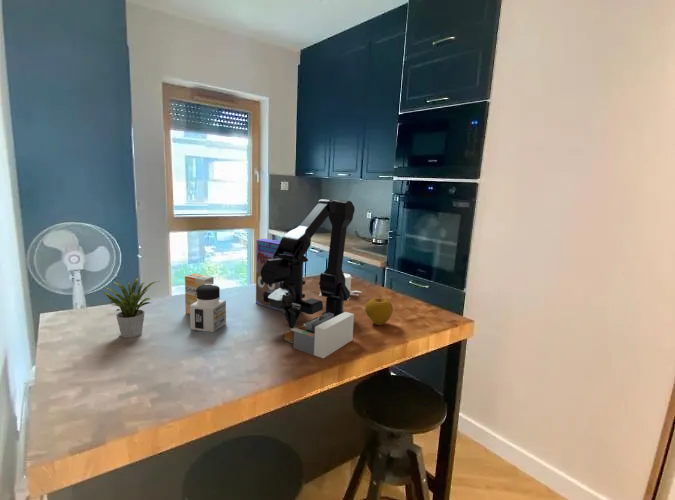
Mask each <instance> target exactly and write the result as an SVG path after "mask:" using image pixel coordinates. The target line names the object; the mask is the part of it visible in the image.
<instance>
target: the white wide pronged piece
mask: <svg viewBox="0 0 675 500" xmlns="http://www.w3.org/2000/svg"><path fill="white" fill-rule="evenodd" d="M343 274H344V276H345V286H346V287H347V289H348V290H349V291H350V296H358V294H356V293H361V291H360V290H351V286H352V285H351V284H352V283H351V282H352V279H355V277H352V274H349V273H345V272H343ZM319 293H320V294H319V295H318V296H322V294H321V291H319ZM350 296H349V298H348V299H347V300H346V301H349V299H351V297H350Z"/></svg>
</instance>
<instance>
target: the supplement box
mask: <svg viewBox="0 0 675 500" xmlns="http://www.w3.org/2000/svg"><path fill="white" fill-rule="evenodd" d="M214 279H215V277H214V276H210V275H205V274H200V273H199V274H198V273H191V274H187V275H185V276H184V292H185V295H184V296H185V297H184V298H185V299H184V300H185V301H184V303H185V304H184V306H185V314H187V315H190V305H191V304H193V303H195V302H197V288H198V287H199V286H201V285H204V284H214V281H215V280H214Z"/></svg>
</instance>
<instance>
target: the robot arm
mask: <svg viewBox="0 0 675 500" xmlns="http://www.w3.org/2000/svg"><path fill="white" fill-rule="evenodd" d="M354 213H355V205H354V204H353V202H352V201H351V200H342V199H328V198H327V199H325V198H322V199H319V200H318V201H317V203H316V206H315V207H313V209H312V210H311V212H310V213H309V214H308V215H307V216H306V217H305V219H304V220H303V221H302V222H301V223H300V225H298V226H297V227H296V228H294V229H291V230H289V231H288V232H287V233H286V234H284V235H283V236H282V237H281V239H280V240H279V241H280V244H279V246H278V248H277V250H276V252H275V253H274V255H273V258H274V259H267V260H266V264H265V265H264V266H263V267H262V269H261V278H262V280H263V281H264V283H266V284H268V285H271V284H274V283H278V282H280V286H279V289H273V290H270V291H267V292H265V294H264V295H263V301H265V302H268V303H270V306H271V307H275V308H277V309H281V310H283V311H284V312H283V314H284V316H285V318H286V321H287V324H288V327H289V328H288V329H290V330H291V329H293V328H295V327H296V324H297V322H298V321H299V318H300V316H301V314H302V313H303V314H307V315H314V314H316V313H318V312H320V311H322V310H324V303H323V302H322V300H321V299H316V298H313V297H311V298H308V299H306V300H305V299H304V298H306V294H305V293H303V286H305V285H306V280H304V278H303V277H304V263H307V262H308V261H309V259H308V257H306V256H305V255H306V253H307V252H308V250H309V248H310V247H311V245H312V238H313V236H314V235H315V234H316V232H317V231H318V229H320V227H321V226H322V225H323V223H324V222H325V221H326V220H327V218H328V221H329V222H330V224H331V232H330V241H329V249H328V258H327V259H328V260H327V267H326V269H325V271H324V272H321V273H320V275H319V282H318V285H319V290H320V292H321V293H320V294H322V295H321V296H322V297H325V298H326V303H325V310H324V311H323V312H322V313H321V315H324V314H326V313H328V312H329V313H332V314H334V317H336V316H338V315H340V314H342V313H344V312H345V311H344V302H346V301H348V300H349V299H350V298H349V297H350V296H351V295H350V291H351V290H350V291H349V290H348V289H347V287H346V286H345V276H344V274H343V273H344V272H343V261H344V255H345V254H344V252H345V247H346V246H345V245H346V244H345V243H346V237H347V229H348V227H349V225H350V224H351V222H352V221H353V219H354ZM283 253H284V254H283ZM285 254H288V255H285ZM290 255H293V256H290ZM347 299H348V300H347Z"/></svg>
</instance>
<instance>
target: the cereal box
mask: <svg viewBox="0 0 675 500" xmlns="http://www.w3.org/2000/svg"><path fill="white" fill-rule="evenodd" d="M255 241H256V242H255V243H256V246H255V247H256V248H255V250H256V253H255V257H256V259H255V261H256V263H255V271H256V272H255V304H256V305H259V306H263V307H265V308H270V309H273V310H276V311H280V312H283V313H284V311H283V310H281V309H277V308H275V307H271V306H270V303H268V302H265V301H263V295H264V294H265V292H267V291H270V290H273V289H279V286H280V282H278V283H274V284H271V285H268V284H266V283H264V281H263V280H262V278H261V269H262V267H263V266H264V265H265V264H266V260H267V259H274V258H273V255H274V253H275V252H276V250H277V248H278V246H279V244H280V241H281V240H275V239H271V238H270V239H269V238H260V239H256V240H255ZM283 254H284V253H283ZM285 255H288V254H285ZM290 256H293V255H290Z"/></svg>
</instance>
